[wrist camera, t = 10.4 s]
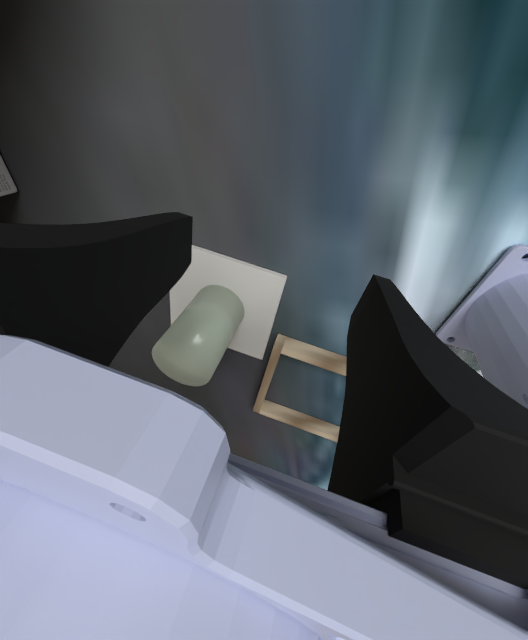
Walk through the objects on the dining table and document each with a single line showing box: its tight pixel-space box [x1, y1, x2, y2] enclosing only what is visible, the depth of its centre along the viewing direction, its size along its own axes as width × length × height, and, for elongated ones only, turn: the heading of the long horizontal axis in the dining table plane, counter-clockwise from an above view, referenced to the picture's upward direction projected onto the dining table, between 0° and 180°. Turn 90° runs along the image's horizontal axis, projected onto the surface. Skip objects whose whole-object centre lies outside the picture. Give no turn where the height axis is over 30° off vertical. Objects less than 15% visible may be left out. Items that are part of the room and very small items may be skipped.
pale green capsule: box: [152, 285, 245, 386], centre depth 23 cm, size 6×5×7 cm
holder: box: [253, 334, 347, 442], centre depth 29 cm, size 12×12×2 cm
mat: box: [170, 245, 287, 360], centre depth 26 cm, size 10×10×1 cm
